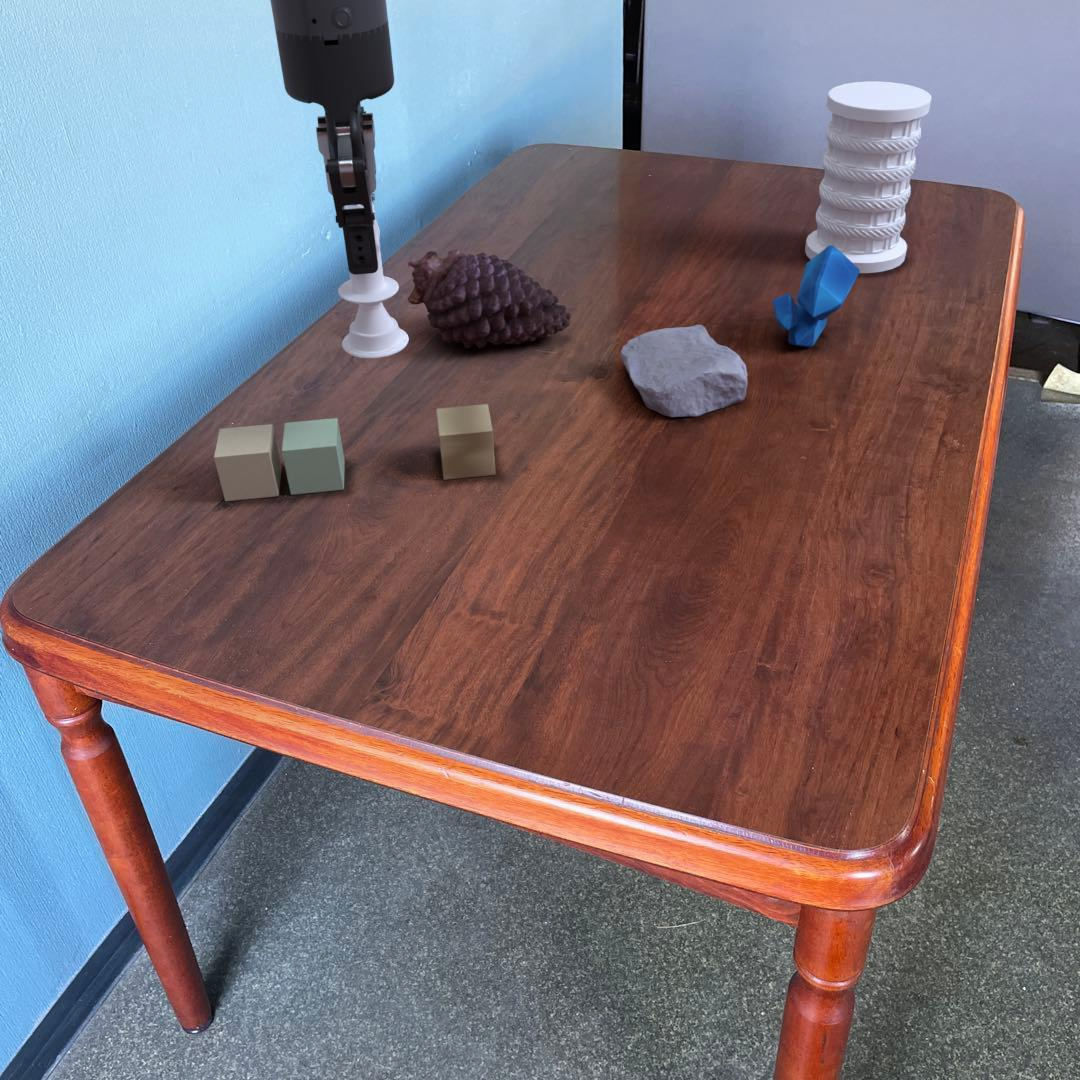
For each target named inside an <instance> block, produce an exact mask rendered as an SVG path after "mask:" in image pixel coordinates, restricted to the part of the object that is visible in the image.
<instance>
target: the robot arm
mask: <svg viewBox="0 0 1080 1080" xmlns="http://www.w3.org/2000/svg"><path fill="white" fill-rule="evenodd" d="M269 2H270V7H271V12H272V18H273V24H274V30H275V36H276V42H277V49H278V55H279V62H280V68H281V74H282V80H283V86H284V91H285V92H286V94H287V95H288V96H289V97H290V98H291V99H294V100H295V101H298V102H300V103H304V104H308V105H309V104H316V105H319V106H321V107H322V108H323V110H324V115H321V116H319V115H318V116H317V126H316V127H315V131H316V132H315V133H316V140H317V147H318V152H319V153H320V154H321V155H322V157H323V164H324V170H325V178H326V186H327V192H328V193H329V194H330V195H331V196H332V199H333V205H334V211H335V218H334V219H335V223H336V224H337V225H338V228H339V229H342V233H343V241H344V248H345V254H346V261H347V269H348V272H349V271H350V272H349V274H350V273H352V274H354V275H358V274H370V273H375V272H376V271H377V270H378V259H377V251H376V243H375V235H374V227H373V225H374V220H376V219H377V218H376V219H375V213H376V211H375V212H374V213H373V209H372V203H373V204H374V205H375V203H374V201H376V196H375V191H376V190H377V176H376V175H377V165H376V157H375V156H376V155H375V149H376V132H375V131H376V129H375V121H374V114H373V112H367V111H365V107H364V106H362V104H361V102H362V101H365V100H370V101H371V100H375V99H377V98H380V97H382V96H384V95H386V94H387V93H389V92H390V91H391V90H392V88H393V87H394V84H395V73H394V64H393V54H392V43H391V34H390V27H389V16H388V6H387V0H270V1H269ZM346 205H362V206H363V207H364V208H355V209H345V206H346Z"/></svg>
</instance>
